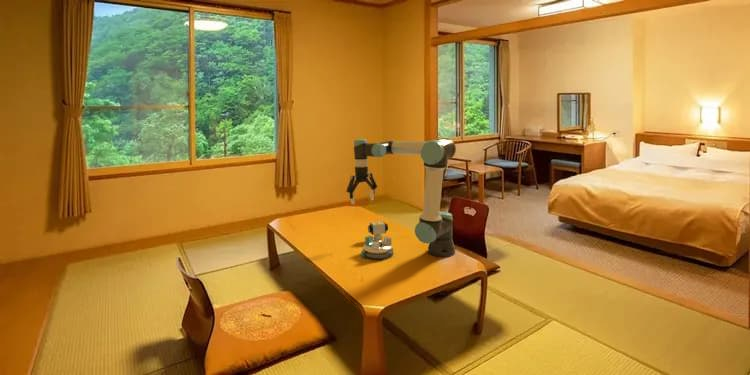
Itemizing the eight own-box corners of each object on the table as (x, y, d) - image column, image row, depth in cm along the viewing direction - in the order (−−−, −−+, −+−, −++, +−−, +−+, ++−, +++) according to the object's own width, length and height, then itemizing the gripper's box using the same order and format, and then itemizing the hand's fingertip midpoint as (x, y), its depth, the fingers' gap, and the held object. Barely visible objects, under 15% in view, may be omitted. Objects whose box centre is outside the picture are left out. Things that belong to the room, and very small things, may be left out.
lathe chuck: (397, 247, 236) (397, 237, 234) (380, 256, 223) (380, 245, 222) (375, 242, 245) (375, 232, 244) (357, 250, 233) (357, 240, 232)
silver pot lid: (399, 253, 236) (399, 246, 236) (379, 263, 222) (379, 256, 222) (375, 247, 247) (375, 240, 246) (354, 256, 233) (354, 249, 232)
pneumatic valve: (388, 240, 258) (388, 221, 256) (370, 242, 255) (369, 223, 252) (385, 237, 263) (385, 219, 261) (367, 239, 260) (367, 221, 258)
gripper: (374, 163, 253) (376, 197, 257) (339, 167, 239) (341, 204, 243) (382, 164, 247) (383, 199, 251) (346, 169, 233) (348, 206, 237)
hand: (362, 201), depth 247 cm, fingers open, 13 cm apart
